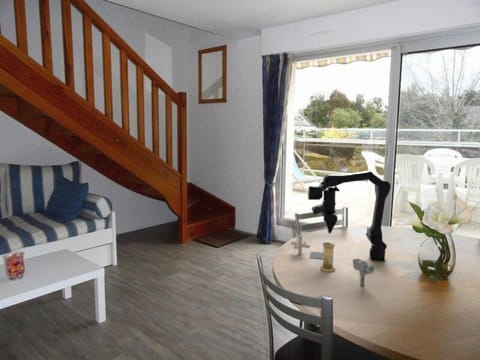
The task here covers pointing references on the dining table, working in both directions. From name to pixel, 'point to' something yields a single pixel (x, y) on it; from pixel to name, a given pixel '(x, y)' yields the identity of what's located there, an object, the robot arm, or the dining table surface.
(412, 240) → the dining table surface
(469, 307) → the dining table surface
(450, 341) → the dining table surface
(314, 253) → the mat
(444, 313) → the dining table surface
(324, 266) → the brass pedestal cup
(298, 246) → the pipe connector
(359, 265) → the grey mottled tree figurine
